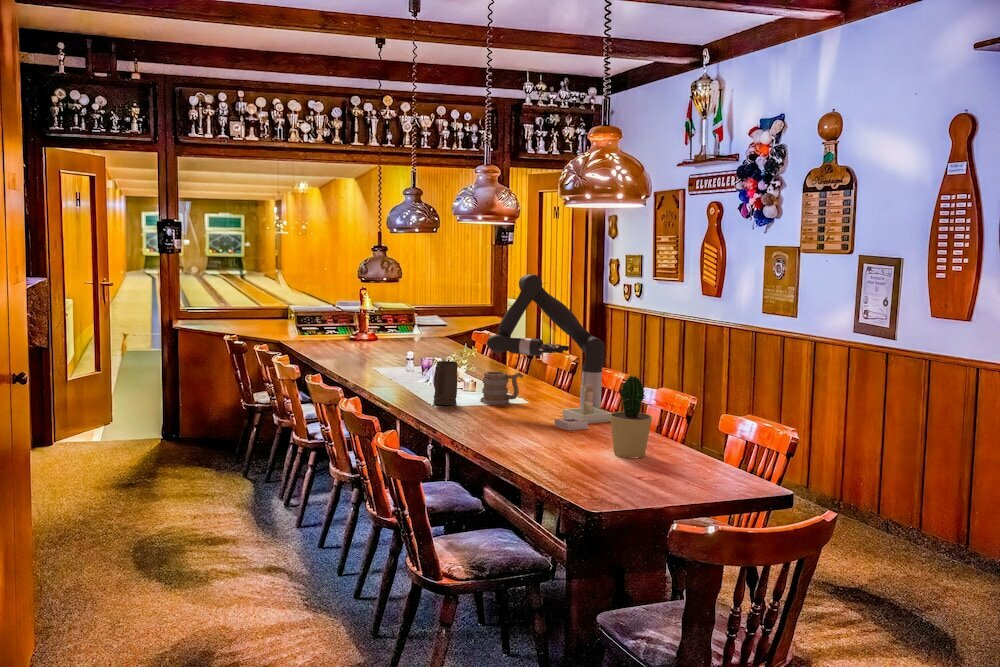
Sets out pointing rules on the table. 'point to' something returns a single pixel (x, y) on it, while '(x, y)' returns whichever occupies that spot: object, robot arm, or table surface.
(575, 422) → the peg holder
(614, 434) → the potted cactus
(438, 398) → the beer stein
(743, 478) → the table surface
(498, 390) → the tankard
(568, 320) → the robot arm
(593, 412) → the sage tray
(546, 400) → the table surface
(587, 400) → the maple peg
